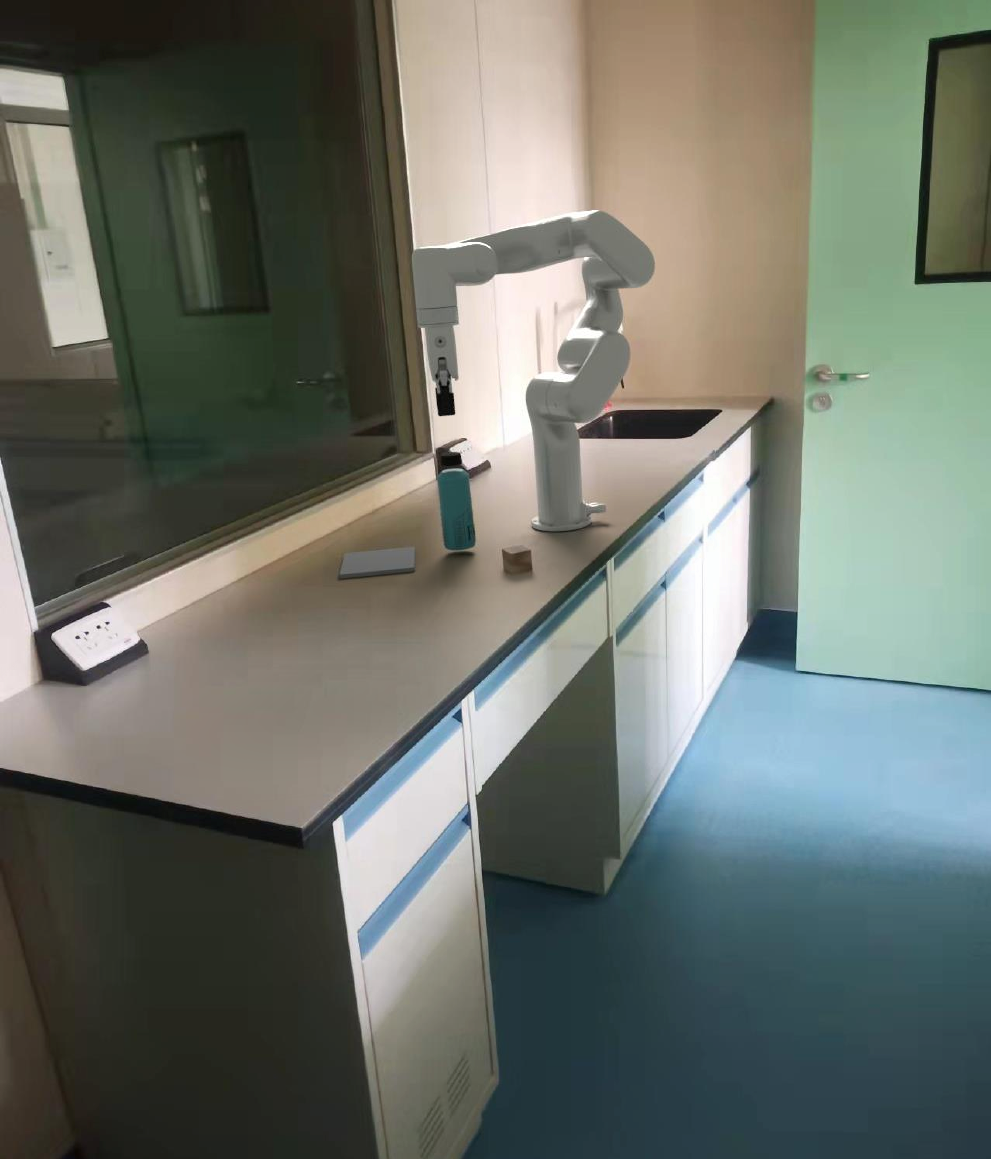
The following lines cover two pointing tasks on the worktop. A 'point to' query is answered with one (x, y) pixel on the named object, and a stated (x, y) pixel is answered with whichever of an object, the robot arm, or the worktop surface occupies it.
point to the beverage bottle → (455, 505)
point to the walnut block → (517, 559)
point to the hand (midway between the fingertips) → (446, 411)
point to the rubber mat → (378, 562)
